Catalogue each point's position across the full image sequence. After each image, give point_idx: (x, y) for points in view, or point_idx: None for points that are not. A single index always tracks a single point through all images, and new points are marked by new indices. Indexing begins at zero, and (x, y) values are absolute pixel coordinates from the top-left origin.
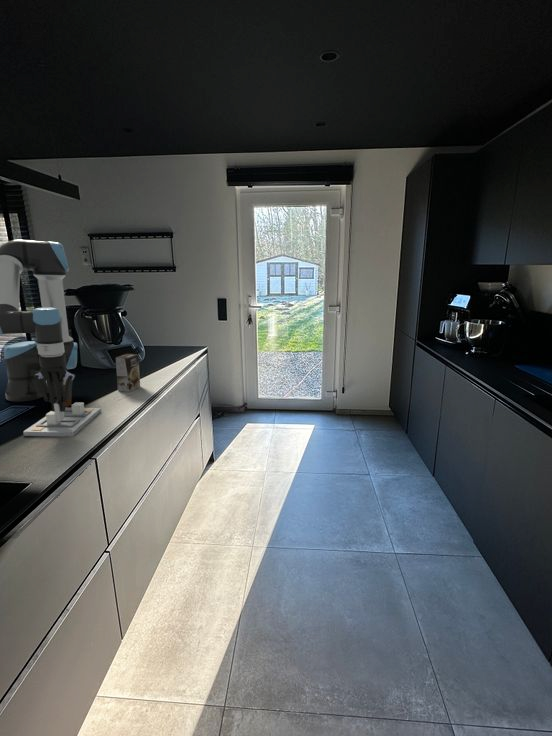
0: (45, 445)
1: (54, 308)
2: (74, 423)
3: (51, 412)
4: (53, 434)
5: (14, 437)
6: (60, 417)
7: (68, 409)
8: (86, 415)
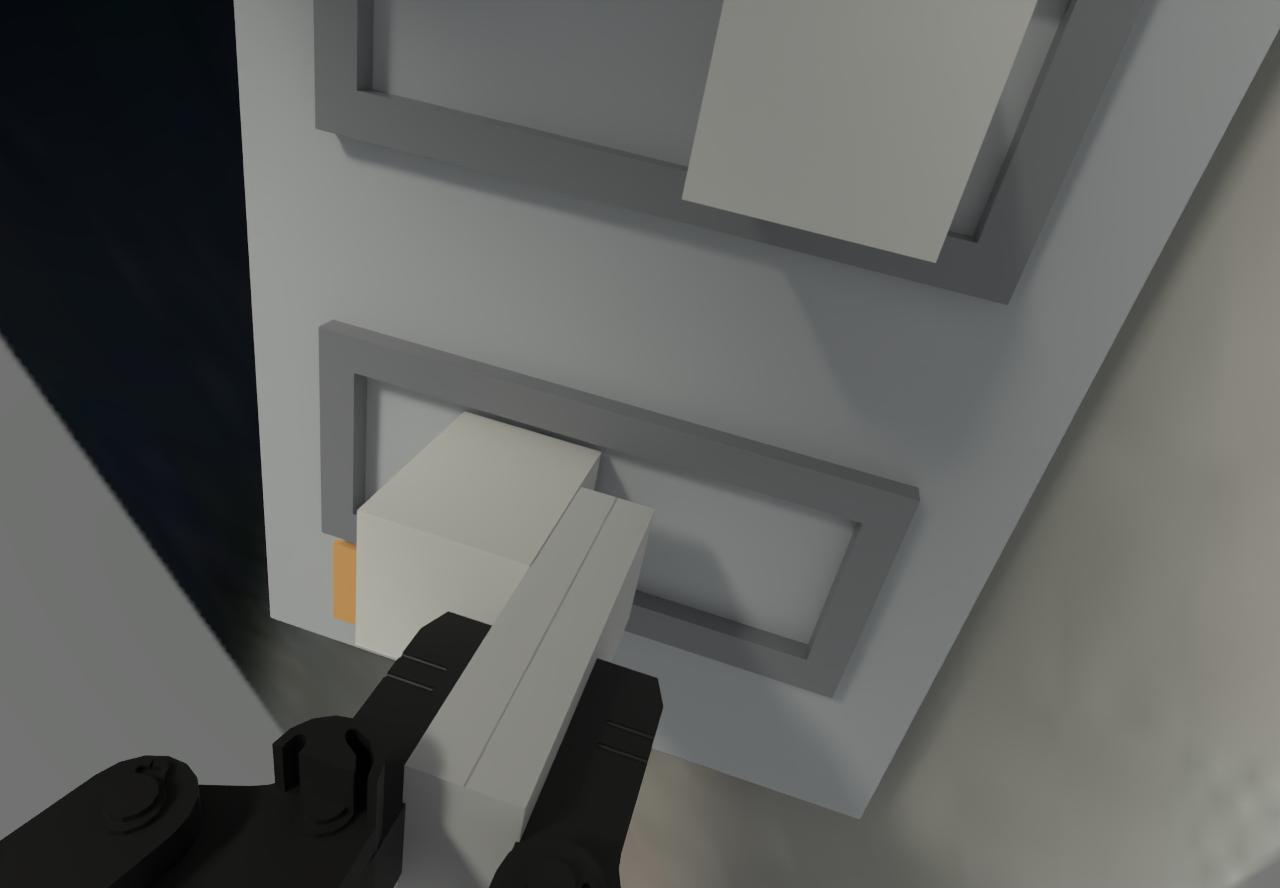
0: None
1: None
2: (851, 620)
3: (405, 581)
4: None
5: (241, 594)
6: (615, 651)
7: None
8: (1040, 211)
